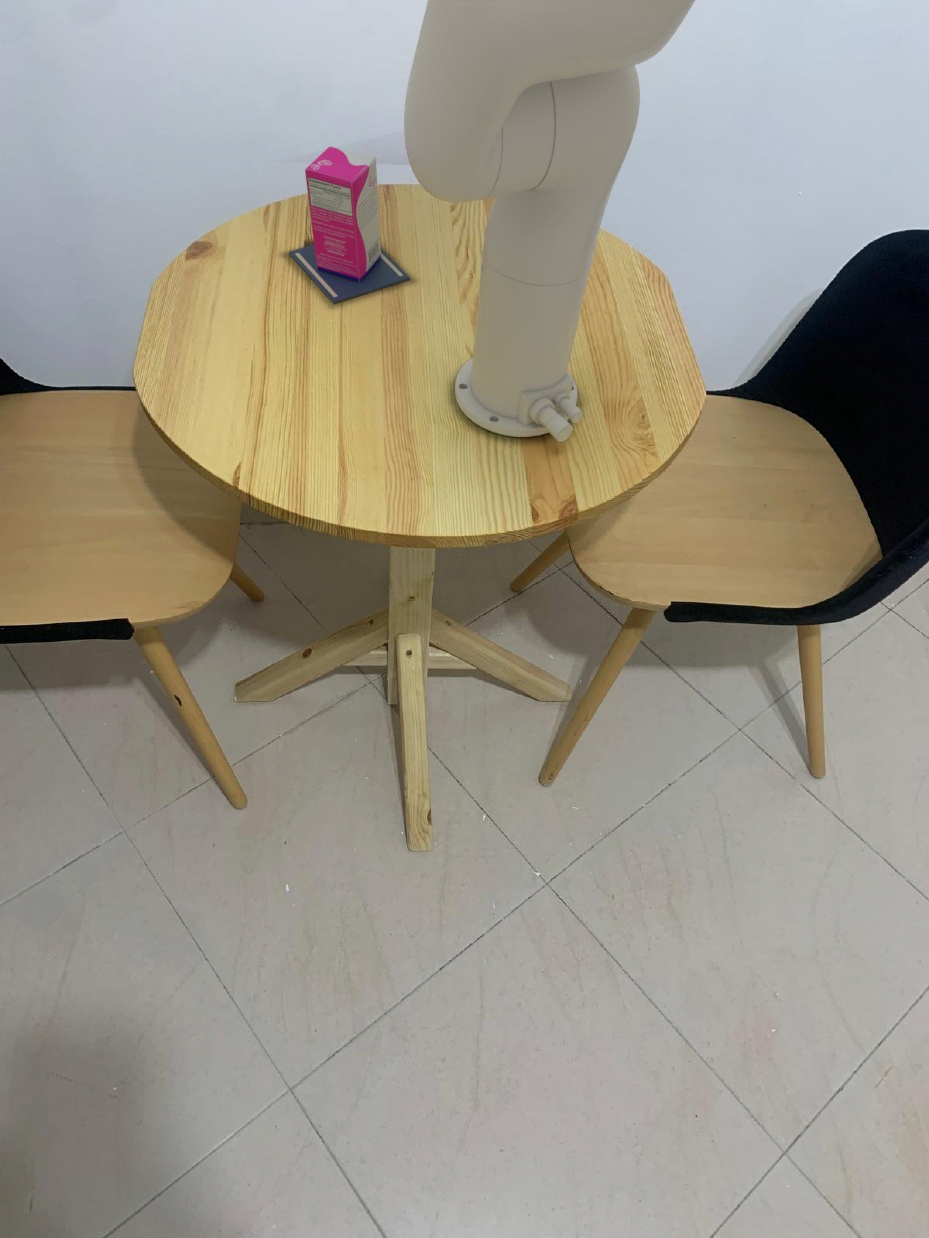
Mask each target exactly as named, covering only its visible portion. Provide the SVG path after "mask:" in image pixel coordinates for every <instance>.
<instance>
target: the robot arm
mask: <svg viewBox="0 0 929 1238" xmlns="http://www.w3.org/2000/svg"><path fill="white" fill-rule="evenodd" d="M695 2H696V0H427V3H426V7H425V11H424V15H423V19H422V23H421V27H420V30H419V36H418V39H417V42H416V43H417V44H416V47H415V51H414V55H413V60H412V64H411V68H410V72H409V77H408V81H407V87H406V93H405V99H404V110H403V111H404V113H403V135H404V144H405V150H406V155H407V159H408V163H409V165H410V168H411V171H412V173H413V175H414V177H415V179H416V180H417V182H418V183H419V185H420V186H421V187H422V188H423V189H424V190H425V192H427V193H428V194H429V195H430V196H432V197H434V198H435V199H437V200H440V201H442V202H446V203H451V204H463V203H465V204H466V203H472V202H478V201H485V200H489V199H493V202H492V205H491V207H490V210H489V213H488V216H487V219H486V224H485V228H484V237H483V245H482V254H481V264H480V275H479V286H478V296H477V297H478V298H477V310H476V319H475V320H476V321H475V330H474V341H473V351H472V357H471V358H470V359H469V360H467V361H466V362H465V363H464V364H463V365H462V366H461V367H460V369H459V371H458V372H457V374H456V377H455V381H454V382H455V383H454V396H455V400H456V402H457V405H458V407H459V408H460V410H461V411H462V412H463V414H464V415H465V416H466V417H467V418H468V419H470V421H471V422H473V423H474V424H476V425H477V426H479V427H481V428H483V429H485V430H487V431H490V432H492V433H495V434H499V435H502V436H506V437H514V438H515V437H516V438H530V437H536V436H537V437H538V436H541V435H545V434H549V435H551V436H552V437H553V438H554V439H555V440H556V441H557V442H559V443H562V442H565V441H566V440H568V439H569V438H570V437H571V435H572V434H573V431H574V427H573V425H571V424H570V422H569V421H571V422H572V423H573V424H578V423H579V422H581V420H582V419H583V417H584V412H583V411H582V410H581V408H580V407H578V406H577V402H578V387H577V384H576V381H575V380H574V378H573V376H572V375H571V373H569V366H570V363H571V358H572V353H573V349H574V345H575V339H576V336H577V331H578V327H579V326H578V325H579V322H580V316H581V312H582V308H583V303H584V298H585V293H586V289H587V285H588V281H589V276H590V271H591V267H592V264H593V261H594V260H593V259H594V255H595V250H596V246H597V241H598V237H599V233H600V229H601V225H602V221H603V219H604V215H605V211H606V207H607V205H608V201H609V199H610V197H611V193H612V191H613V189H614V186H615V183H616V180H617V178H618V176H619V174H620V172H621V169H622V168H623V164H624V162H625V160H626V158H627V155H628V152H629V150H630V148H631V144H632V141H633V138H634V135H635V131H636V128H637V124H638V119H639V115H640V107H641V106H640V104H641V88H640V80H639V75H638V71H637V68H636V65H640V64H642V63H644V62H646V61H648V60H650V59H652V58H653V57H654V56H656V55H657V54H659V52H661V51H662V50H663V49H664V48H665V46H667V44H668V43H669V42H670V41H671V39H672V38H673V36H674V35H675V33H677V31H678V29H679V27H680V26H681V25H682V23H683V22H684V20H685V19H686V16H687V15H688V13H689V12H690V10H691V8H692V7H693V5H694V4H695Z"/></svg>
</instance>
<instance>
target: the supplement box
mask: <svg viewBox="0 0 929 1238" xmlns="http://www.w3.org/2000/svg"><path fill="white" fill-rule="evenodd" d="M377 173H378V170H377V158H376V157H375V156H372V155H367V154H363V153H360V152H355V151H350V150H347V149H344V148H341V147H336V146H332V145H329V146H328V147H327V148H326V149H325V150H324V151H323V152H322V153H321V154H320V155H318V156H317V158H316V159H315V160H313V161H312V163H310V164H309V165H308V166H306V168H305V169H304V174H305V180H306V188H307V189H306V190H307V195H308V196H307V197H308V206H309V212H310V223H311V230H312V238H313V245H314V247H315V255H316V263H317V269H318V270H321V271H324V272H327V273H330V274H334V275H337V276H340V277H343V278H346V279H350V280H353V281H356V282H358V283H360V282H361V281H362V280H363V279H364V278H365V277H366V276H367V274H368V273H369V272H370V271H371V270H372V269H373V267H374V266H375V265H376V264H377V263H378V261H379V260H380V259H381V249H382V248H381V233H380V232H381V231H380V211H379V210H380V209H379V190H378V189H379V188H378V175H377Z"/></svg>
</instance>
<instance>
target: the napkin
mask: <svg viewBox="0 0 929 1238" xmlns="http://www.w3.org/2000/svg"><path fill="white" fill-rule="evenodd" d="M288 255H289V256H290V257H291V258H292V260H293V261H295V263H296V264H297V265H298V267H300V268H301V269H302V270H303V271H304V273H305V274H306V275H307V276H308V277H309V279H311V281H312V282H313V283H314V284H315V285H316V286H317V287H318V288H319V289H320V291H321V292H322V293H323V294H324V296H326V298H328V299H329V301H330V302H331V303H332V304H333V305H335V304H338V303H342V302H345V301H348V300H351V299H355V298H358V297H361V296H364V295H367V294H371V293H373V292H376V291H379V290H383V289H386V288H389V287H391V286H394V285H398V284H401V283H404V282H407V281H410V280H411V276H409V275H408V274H407V273H406V272H405V271H404V270H403V269H402V268H401V267H400V266H399V265H398V264H397V263H396V262H395V261H394V260H393V258H391V257H390V255H388V254H387V253H386V252H385V250H383V249H382V248H381V259H380V260H379V261H378V263H377V264H376V265H375V266H374V267H373V269H372V270H371V271H370V272H369V273H368V274H367V276H366V277H365V278H364V279H363V280H362V281H361V282H360V283H358V282H356V281H353V280H350V279H346V278H343V277H340V276H337V275H334V274H330V273H327V272H324V271H321V270H318V269H317V263H316V255H315V247H314V244H311V245H307V246H304V247H301V248H296V249H294V250H290V251H288Z"/></svg>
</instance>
